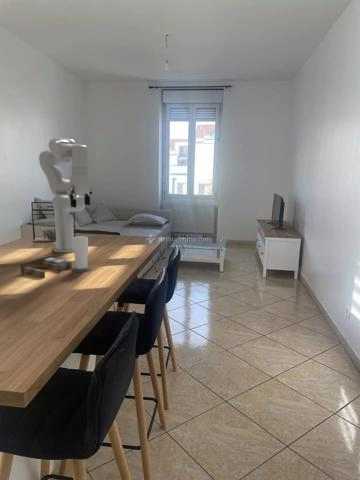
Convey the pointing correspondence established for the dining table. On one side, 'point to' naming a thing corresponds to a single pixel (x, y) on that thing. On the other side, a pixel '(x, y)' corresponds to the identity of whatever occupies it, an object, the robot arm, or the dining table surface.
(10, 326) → the dining table surface
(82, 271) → the felt coaster
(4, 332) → the dining table surface
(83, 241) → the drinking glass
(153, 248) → the dining table surface
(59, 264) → the walnut cubby
